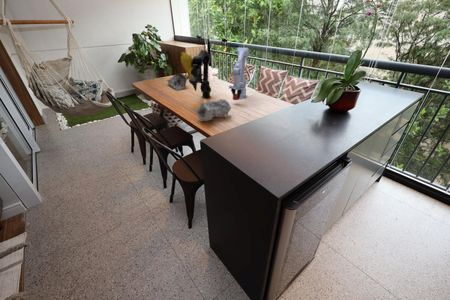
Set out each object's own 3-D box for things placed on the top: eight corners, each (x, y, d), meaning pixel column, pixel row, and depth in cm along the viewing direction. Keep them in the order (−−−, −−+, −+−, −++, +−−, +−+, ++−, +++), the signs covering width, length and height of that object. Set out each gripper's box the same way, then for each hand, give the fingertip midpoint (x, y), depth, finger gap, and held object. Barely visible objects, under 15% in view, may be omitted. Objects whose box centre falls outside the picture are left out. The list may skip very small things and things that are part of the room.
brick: (235, 97, 185) (235, 93, 183) (239, 98, 184) (239, 94, 181) (232, 99, 182) (233, 95, 180) (236, 100, 180) (236, 95, 178)
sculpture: (191, 75, 276) (188, 51, 262) (201, 77, 256) (198, 51, 242) (178, 77, 267) (174, 52, 252) (186, 80, 247) (182, 52, 232)
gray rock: (192, 83, 223) (180, 73, 240) (188, 78, 216) (175, 68, 233) (181, 95, 223) (169, 84, 240) (176, 91, 217) (164, 80, 234)
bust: (212, 120, 140) (239, 108, 156) (200, 99, 140) (228, 90, 156) (203, 130, 153) (228, 118, 170) (191, 111, 154) (218, 101, 170)
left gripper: (183, 73, 168) (185, 92, 176) (200, 76, 159) (201, 96, 168) (192, 71, 175) (194, 88, 184) (209, 74, 166) (210, 92, 175)
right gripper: (227, 82, 175) (227, 97, 183) (241, 84, 168) (241, 100, 176) (231, 80, 180) (231, 95, 187) (245, 82, 173) (245, 98, 181)
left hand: (199, 91), depth 177 cm, fingers open, 9 cm apart
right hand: (236, 97), depth 182 cm, fingers closed on brick, 4 cm apart
